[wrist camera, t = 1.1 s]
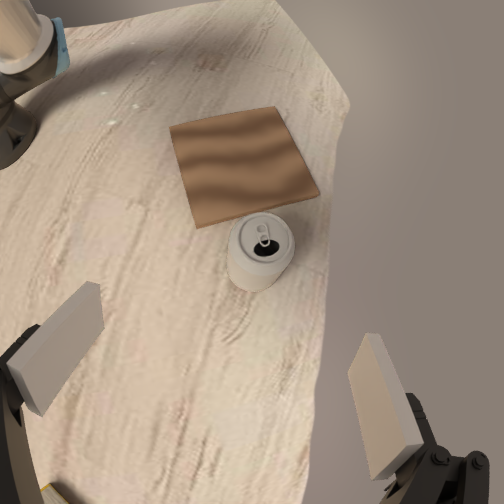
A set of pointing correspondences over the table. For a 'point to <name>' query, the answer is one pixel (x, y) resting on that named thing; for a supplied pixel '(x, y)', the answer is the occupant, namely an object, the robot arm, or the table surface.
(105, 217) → the table surface
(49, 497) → the candy box
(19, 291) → the table surface
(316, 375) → the table surface
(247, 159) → the walnut board
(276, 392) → the table surface
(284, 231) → the can
